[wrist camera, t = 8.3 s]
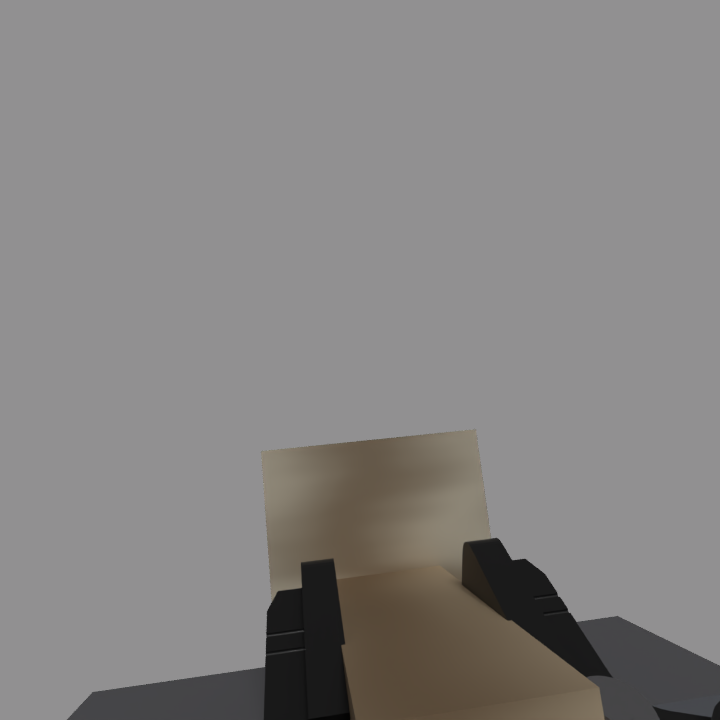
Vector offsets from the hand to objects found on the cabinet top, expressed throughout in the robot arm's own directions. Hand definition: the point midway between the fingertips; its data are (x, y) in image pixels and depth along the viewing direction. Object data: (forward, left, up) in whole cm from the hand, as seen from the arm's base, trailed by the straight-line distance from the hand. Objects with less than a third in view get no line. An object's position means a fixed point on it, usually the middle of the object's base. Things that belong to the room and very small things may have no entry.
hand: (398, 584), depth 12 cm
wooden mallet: (0, -2, -3) cm, 3 cm away
